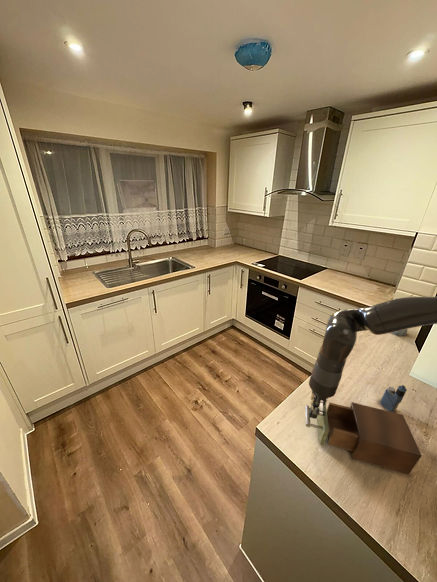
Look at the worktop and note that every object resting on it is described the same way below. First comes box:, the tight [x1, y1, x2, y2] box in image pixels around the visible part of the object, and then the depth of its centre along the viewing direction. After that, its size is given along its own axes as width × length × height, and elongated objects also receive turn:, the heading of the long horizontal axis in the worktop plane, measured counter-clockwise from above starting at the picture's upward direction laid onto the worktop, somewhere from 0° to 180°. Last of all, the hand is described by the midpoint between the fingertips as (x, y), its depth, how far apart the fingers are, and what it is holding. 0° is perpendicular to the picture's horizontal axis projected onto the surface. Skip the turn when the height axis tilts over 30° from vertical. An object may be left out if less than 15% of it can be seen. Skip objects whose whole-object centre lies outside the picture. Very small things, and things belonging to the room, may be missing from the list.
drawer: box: [304, 401, 360, 452], centre depth 74 cm, size 18×11×7 cm, turn 73°
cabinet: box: [349, 401, 423, 476], centre depth 71 cm, size 15×13×9 cm
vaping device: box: [379, 384, 407, 413], centre depth 83 cm, size 3×5×12 cm, turn 24°
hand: (312, 416), depth 75 cm, fingers closed
